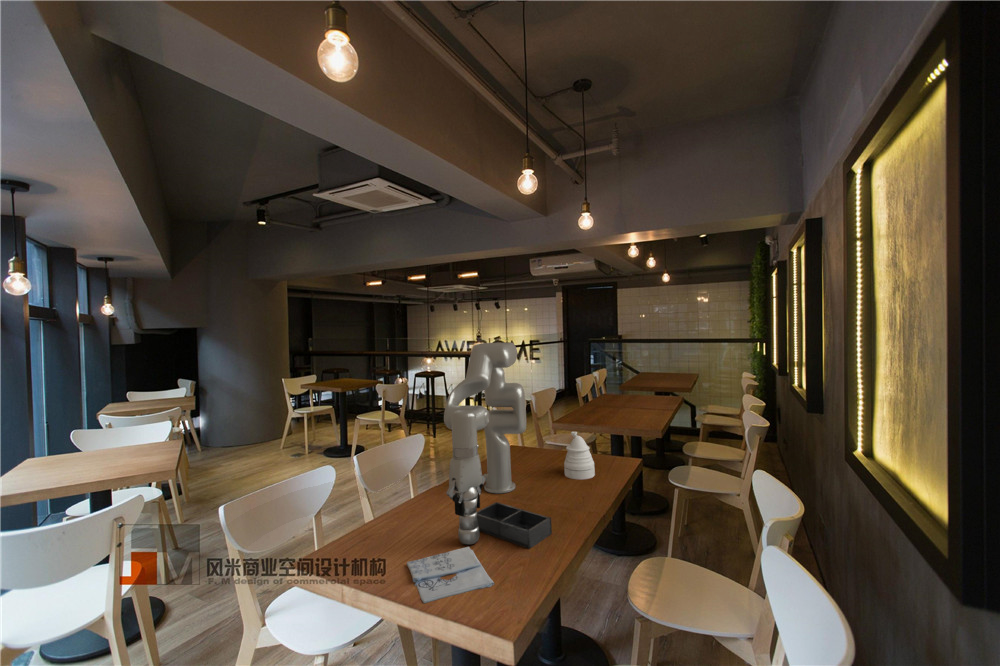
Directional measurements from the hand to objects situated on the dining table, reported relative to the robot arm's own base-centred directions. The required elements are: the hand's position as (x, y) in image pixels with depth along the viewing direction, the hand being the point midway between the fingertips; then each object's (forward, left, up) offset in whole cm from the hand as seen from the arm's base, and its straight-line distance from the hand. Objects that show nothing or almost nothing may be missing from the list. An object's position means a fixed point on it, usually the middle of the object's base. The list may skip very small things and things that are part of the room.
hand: (467, 510), depth 133 cm
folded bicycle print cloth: (+8, -16, -11) cm, 21 cm away
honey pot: (-4, +72, -10) cm, 73 cm away
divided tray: (+6, +13, -10) cm, 17 cm away
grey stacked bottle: (0, 0, -10) cm, 10 cm away
